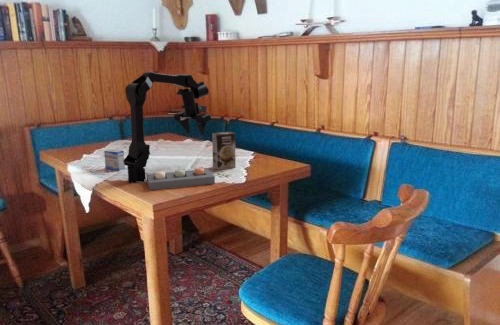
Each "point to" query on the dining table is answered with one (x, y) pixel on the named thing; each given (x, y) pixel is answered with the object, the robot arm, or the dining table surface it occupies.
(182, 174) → the sage button
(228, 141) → the coffee box
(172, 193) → the dining table surface
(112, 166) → the medicine box
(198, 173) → the orange rounded piece
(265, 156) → the dining table surface
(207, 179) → the button panel
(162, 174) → the cream button
